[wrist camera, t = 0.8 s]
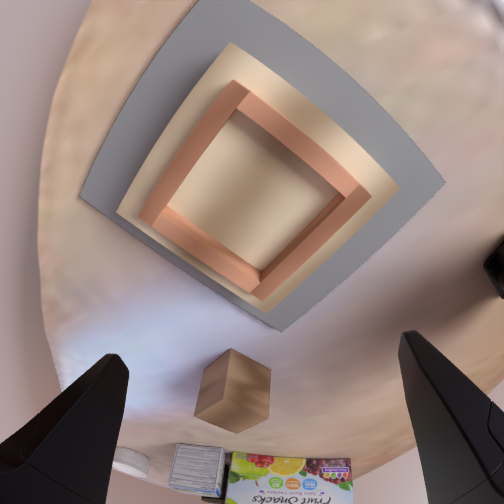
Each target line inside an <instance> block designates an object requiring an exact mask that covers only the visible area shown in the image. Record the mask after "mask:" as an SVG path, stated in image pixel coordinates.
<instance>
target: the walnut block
mask: <svg viewBox="0 0 504 504" xmlns="http://www.w3.org/2000/svg"><path fill="white" fill-rule="evenodd" d="M270 378H271V369H269V368H267V367H265V366H263V365H261V364H260V363H258V362H256V361H254V360H252V359H250V358H248V357H246V356H245V355H243V354H241V353H239V352H237V351H236V350H234V349H232V348H231V349H229V350H228V351H227V352H226V353H225V354H223V355H222V356H221V357H220V358H218V359H217V360H216V361H214V362H213V363H212V364H211V365H209V366H208V367H207V368H206V369H204V373H203V377H202V382H201V386H200V391H199V395H198V400H197V404H196V409H195V413H194V416H195V417H197V418H199V419H201V420H204V421H206V422H208V423H211V424H213V425H216V426H218V427H221V428H223V429H226V430H228V431H231V432H233V433H236V434H237V433H239V432H241V431H243V430H246V429H248V428H250V427H252V426H254V425H256V424H258V423H261V422H263V421H265V420H267V419H269V401H270Z"/></svg>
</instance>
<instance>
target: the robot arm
mask: <svg viewBox="0 0 504 504" xmlns="http://www.w3.org/2000/svg"><path fill="white" fill-rule="evenodd" d="M483 267H484V269H485V270H486V272H487V274H488V276H489V277H490V279H491V281H492V283H493V284H494V286H495V288H496V290H497V292H498V294H499V295H500V297H501V298H502V299H504V242H503V244H502V245H501V246H500V247H499V248H498V249H497V250H496V251H495V252H494V253H493V254H492V255H491V256H490V257H489V258H488V259H487V260H486V261H485V262H484V265H483ZM398 357H399V363H400V368H401V374H402V380H403V386H404V392H405V398H406V403H407V407H408V411H409V415H410V419H411V423H412V426H413V430H414V435H415V439H416V443H417V447H418V452H419V456H420V461H421V465H422V470H423V475H424V480H425V485H426V491H427V496H428V502H429V504H504V412H503V411H502V410H501V409H500V408H499V407H498V406H497V405H496V404H495V403H494V402H493V401H492V402H491V400H490V398H489V397H487V395H486V394H484V393H483V392H482V391H481V390H480V389H479V388H478V387H477V386H476V385H475V384H474V383H473V382H472V381H471V380H470V379H469V378H468V377H467V376H466V375H465V374H463V373H462V372H461V371H460V370H459V369H458V368H457V367H456V366H455V365H454V364H453V363H452V362H451V361H449V360H448V359H447V358H446V357H445V356H444V355H443V354H442V353H441V352H440V351H439V350H437V349H436V348H435V347H434V346H433V345H432V344H431V343H430V342H429V341H427V340H426V339H425V338H424V337H423V336H422V335H421V334H420V333H418V332H417V331H416V330H411V331H406V332H403V333H402V335H401V339H400V345H399V350H398ZM128 380H129V370H128V368H127V366H126V365H125V363H124V362H123V361H122V359H121V358H120V356H119V355H117V354H106V355H105V356H103V357H102V358H101V359H100V360H99V361H98V362H96V363H95V364H94V365H93V366H92V367H91V368H90V369H88V370H87V371H86V372H85V373H84V374H83V375H81V376H80V377H79V378H78V379H77V380H76V381H75V382H73V383H72V384H71V385H70V386H69V387H68V388H67V389H65V390H64V391H63V392H62V393H61V394H60V395H59V396H57V397H56V398H55V399H54V400H53V401H52V402H51V403H49V404H48V405H47V406H46V407H45V408H44V409H43V410H42V411H41V412H40V413H38V414H37V415H36V416H35V417H34V418H32V419H31V420H30V421H29V422H28V423H27V424H25V425H24V426H23V427H22V428H20V429H19V430H18V431H17V432H15V433H14V434H13V435H11V436H10V437H9V438H7V439H6V440H5V441H3V442H2V443H1V444H0V504H105V503H106V496H107V491H108V486H109V480H110V475H111V469H112V464H113V459H114V454H115V450H116V445H117V440H118V436H119V431H120V427H121V422H122V418H123V414H124V408H125V401H126V393H127V387H128Z"/></svg>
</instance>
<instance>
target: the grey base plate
mask: <svg viewBox="0 0 504 504" xmlns="http://www.w3.org/2000/svg"><path fill="white" fill-rule="evenodd" d="M230 42H232V43H233V44H235V45H236V46H238V47H239V48H241V49H242V50H244V51H245V52H247V53H248V54H249V55H251V56H252V57H254V58H255V59H257V60H258V61H259V62H261V63H262V64H264V65H265V66H266V67H268V68H269V69H271V70H272V71H273V72H275V73H276V74H277V75H279V76H280V77H281V78H282V79H284V80H285V81H286V82H288V83H289V84H290V85H291V86H293V87H294V88H295V89H297V90H298V91H299V92H300V93H301V94H303V95H304V96H305V97H306V98H308V99H309V100H310V101H311V102H312V103H314V104H315V105H316V106H317V107H318V108H319V109H321V110H322V111H323V112H324V113H325V114H326V115H327V116H329V117H330V118H331V119H332V120H333V121H334V122H335V123H336V124H338V125H339V126H340V127H341V128H342V129H343V130H344V131H345V132H346V133H347V134H348V135H349V136H350V137H352V138H353V139H354V140H355V141H356V142H357V143H358V144H359V145H360V146H361V147H362V148H363V149H364V150H365V151H366V152H367V153H368V154H369V155H370V156H371V157H372V158H373V159H374V160H375V161H376V162H377V163H378V164H379V165H380V166H381V167H382V168H383V169H384V170H385V172H386V173H387V174H388V175H389V176H390V177H391V178H392V179H393V180H394V181H395V182H396V183H397V184H398V186H399V187H400V189H399V190H398V191H397V192H396V193H395V194H394V196H393V197H392V198H391V199H390V200H389V201H388V202H387V203H386V204H385V205H384V206H383V207H382V208H381V209H380V210H378V211H377V212H376V213H375V214H374V215H373V216H372V217H371V218H370V219H369V220H368V221H367V222H366V223H365V224H364V225H363V226H362V227H361V228H360V229H359V230H358V231H357V232H356V233H355V234H354V235H353V236H352V237H351V238H350V239H349V240H348V241H346V242H345V243H344V244H343V245H342V246H341V247H340V248H339V249H338V250H337V251H336V252H335V253H334V254H333V255H332V256H331V257H329V258H328V259H327V260H326V261H325V262H324V263H323V264H322V265H321V266H320V267H319V268H317V269H316V270H315V271H314V272H313V273H312V274H311V275H310V276H309V277H308V278H307V279H305V280H304V281H303V282H302V283H301V284H300V285H299V286H298V287H296V288H295V289H294V290H293V291H292V292H291V293H290V294H289V295H287V296H286V297H285V298H284V299H283V300H282V301H281V302H280V303H278V304H277V305H276V306H275V307H274V308H273V309H271V310H270V311H269V312H268V313H267V314H266V313H264V312H262V311H261V310H259V309H258V308H256V307H255V306H253V305H251V304H250V303H248V302H247V301H245V300H244V299H242V298H241V297H239V296H238V295H236V294H234V293H233V292H231V291H230V290H228V289H227V288H225V287H224V286H222V285H221V284H219V283H218V282H216V281H215V280H213V279H212V278H210V277H209V276H207V275H206V274H204V273H203V272H201V271H200V270H198V269H197V268H195V267H194V266H192V265H191V264H189V263H188V262H186V261H185V260H183V259H182V258H180V257H179V256H177V255H176V254H175V253H173V252H172V251H170V250H169V249H167V248H166V247H164V246H163V245H162V244H160V243H159V242H157V241H156V240H154V239H153V238H152V237H150V236H149V235H147V234H146V233H144V232H143V231H142V230H140V229H139V228H137V227H136V226H135V225H133V224H132V223H130V222H129V221H128V220H126V219H125V218H123V217H122V216H121V215H119V214H118V213H116V211H117V210H118V208H119V206H120V204H121V202H122V200H123V198H124V196H125V195H126V193H127V191H128V189H129V187H130V186H131V184H132V182H133V180H134V179H135V177H136V175H137V173H138V172H139V170H140V168H141V167H142V165H143V163H144V162H145V160H146V158H147V157H148V155H149V153H150V152H151V150H152V148H153V147H154V145H155V144H156V142H157V141H158V139H159V137H160V136H161V134H162V133H163V131H164V130H165V128H166V127H167V125H168V124H169V122H170V121H171V119H172V118H173V116H174V115H175V113H176V112H177V110H178V109H179V108H180V106H181V105H182V103H183V102H184V100H185V99H186V98H187V96H188V95H189V94H190V92H191V91H192V89H193V88H194V87H195V85H196V84H197V83H198V81H199V80H200V79H201V77H202V76H203V75H204V74H205V72H206V71H207V70H208V68H209V67H210V66H211V65H212V63H213V62H214V61H215V60H216V58H217V57H218V56H219V55H220V53H221V52H222V51H223V50H224V49H225V47H226V46H227V45H228V44H229V43H230ZM445 183H446V182H445V180H444V179H443V178H442V176H441V175H440V174H439V172H438V171H437V170H436V168H435V167H434V166H433V165H432V163H431V162H430V161H429V159H428V158H427V157H426V156H425V155H424V153H423V152H422V151H421V150H420V148H419V147H418V146H417V145H416V144H415V142H414V141H413V140H412V139H411V138H410V137H409V135H408V134H407V133H406V132H405V131H404V130H403V129H402V128H401V126H400V125H399V124H398V123H397V122H396V121H395V120H394V119H393V118H392V117H391V116H390V115H389V113H388V112H387V111H386V110H385V109H384V108H383V107H382V106H381V105H380V104H379V103H378V102H377V101H376V100H375V99H374V98H373V97H372V96H371V95H370V94H369V93H368V92H367V91H366V90H365V89H364V88H363V87H361V86H360V85H359V84H358V83H357V82H356V81H355V80H354V79H353V78H352V77H351V76H350V75H348V74H347V73H346V72H345V71H344V70H343V69H342V68H341V67H339V66H338V65H337V64H336V63H335V62H334V61H332V60H331V59H330V58H329V57H328V56H326V55H325V54H324V53H323V52H321V51H320V50H319V49H318V48H317V47H315V46H314V45H313V44H311V43H310V42H309V41H308V40H306V39H305V38H304V37H302V36H301V35H300V34H298V33H297V32H296V31H294V30H293V29H291V28H290V27H289V26H287V25H286V24H284V23H283V22H281V21H280V20H279V19H277V18H276V17H274V16H273V15H271V14H270V13H268V12H267V11H265V10H263V9H262V8H260V7H259V6H257V5H256V4H254V3H252V2H251V1H249V0H199V1H198V2H197V4H196V5H195V6H194V7H193V8H192V9H191V11H190V12H189V13H188V14H187V15H186V17H185V18H184V19H183V20H182V22H181V23H180V24H179V25H178V27H177V28H176V29H175V31H174V32H173V33H172V34H171V36H170V37H169V38H168V40H167V41H166V43H165V44H164V45H163V47H162V48H161V49H160V51H159V52H158V54H157V55H156V56H155V58H154V59H153V61H152V62H151V64H150V65H149V67H148V68H147V70H146V71H145V73H144V74H143V76H142V77H141V79H140V80H139V82H138V84H137V85H136V87H135V88H134V90H133V92H132V93H131V95H130V97H129V98H128V100H127V102H126V103H125V105H124V107H123V108H122V110H121V112H120V114H119V115H118V117H117V119H116V121H115V123H114V124H113V126H112V128H111V130H110V132H109V134H108V136H107V138H106V140H105V142H104V144H103V145H102V147H101V149H100V152H99V154H98V156H97V158H96V160H95V162H94V164H93V166H92V168H91V170H90V173H89V175H88V177H87V179H86V182H85V184H84V186H83V189H82V191H81V193H80V197H81V198H83V199H84V200H85V201H87V202H88V203H89V204H91V205H92V206H93V207H95V208H96V209H97V210H99V211H100V212H101V213H103V214H104V215H106V216H107V217H108V218H110V219H111V220H112V221H114V222H115V223H117V224H118V225H119V226H121V227H122V228H123V229H125V230H126V231H128V232H129V233H130V234H132V235H133V236H135V237H136V238H137V239H139V240H140V241H142V242H143V243H145V244H146V245H147V246H149V247H150V248H152V249H153V250H155V251H156V252H158V253H159V254H160V255H162V256H163V257H165V258H166V259H168V260H169V261H171V262H172V263H174V264H175V265H177V266H178V267H179V268H181V269H182V270H184V271H185V272H187V273H188V274H190V275H191V276H193V277H194V278H196V279H197V280H199V281H200V282H202V283H204V284H205V285H207V286H208V287H210V288H211V289H213V290H214V291H216V292H217V293H219V294H220V295H222V296H224V297H225V298H227V299H228V300H230V301H231V302H233V303H234V304H236V305H238V306H239V307H241V308H242V309H244V310H246V311H247V312H249V313H250V314H252V315H254V316H255V317H257V318H258V319H260V320H262V321H263V322H265V323H266V324H268V325H270V326H271V327H273V328H275V329H276V330H278V331H280V332H282V331H284V330H285V329H286V328H287V327H289V326H290V325H291V324H292V323H294V322H295V321H296V320H297V319H299V318H300V317H301V316H302V315H304V314H305V313H306V312H307V311H308V310H310V309H311V308H312V307H313V306H315V305H316V304H317V303H318V302H319V301H321V300H322V299H323V298H324V297H325V296H326V295H328V294H329V293H330V292H331V291H332V290H334V289H335V288H336V287H337V286H338V285H339V284H341V283H342V282H343V281H344V280H345V279H346V278H347V277H349V276H350V275H351V274H352V273H353V272H354V271H355V270H356V269H358V268H359V267H360V266H361V265H362V264H363V263H364V262H365V261H367V260H368V259H369V258H370V257H371V256H372V255H373V254H374V253H375V252H376V251H377V250H379V249H380V248H381V247H382V246H383V245H384V244H385V243H386V242H387V241H388V240H389V239H390V238H391V237H392V236H393V235H395V234H396V233H397V232H398V231H399V230H400V229H401V228H402V227H403V226H404V225H405V224H406V223H407V222H408V221H409V220H410V219H411V218H412V217H413V216H414V215H415V214H416V213H417V212H418V211H419V210H420V209H421V208H422V207H423V206H424V205H425V204H426V203H427V202H428V201H429V200H430V199H431V198H432V197H433V196H434V195H435V194H436V193H437V192H438V191H439V190H440V189H441V188H442V187H443V186H444V184H445Z"/></svg>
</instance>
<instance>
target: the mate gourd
mask: <svg viewBox="0 0 504 504" xmlns="http://www.w3.org/2000/svg"><path fill="white" fill-rule="evenodd" d="M228 475H229V466H226V465H225V468H224V475H223V483H222V490H221V497H219V498H217V497H207V496H202V499H201V500H203V501H204V502H208V503H214V504H225V497H226V490H227V483H228Z"/></svg>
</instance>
